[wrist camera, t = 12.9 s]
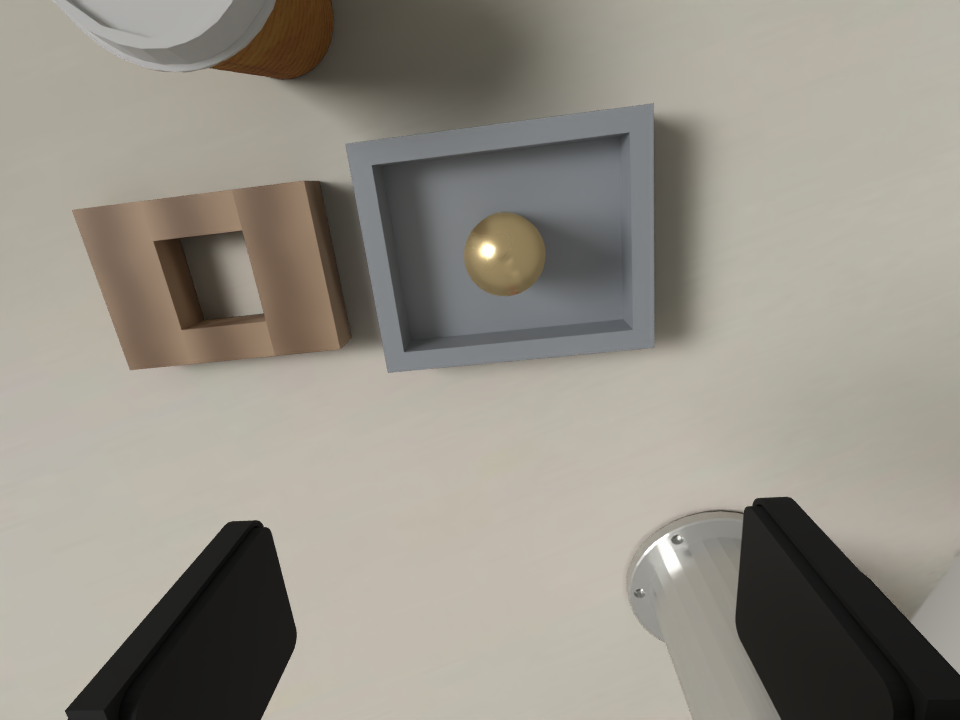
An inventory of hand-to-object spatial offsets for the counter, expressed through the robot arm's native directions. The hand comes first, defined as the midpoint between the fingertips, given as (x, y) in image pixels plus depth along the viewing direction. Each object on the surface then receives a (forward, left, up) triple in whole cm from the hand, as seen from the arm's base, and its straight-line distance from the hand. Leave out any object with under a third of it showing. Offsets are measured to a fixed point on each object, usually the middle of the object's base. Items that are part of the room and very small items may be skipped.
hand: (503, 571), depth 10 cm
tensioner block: (+17, -4, -24) cm, 30 cm away
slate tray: (-1, -4, -24) cm, 24 cm away
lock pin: (0, -4, -23) cm, 23 cm away
